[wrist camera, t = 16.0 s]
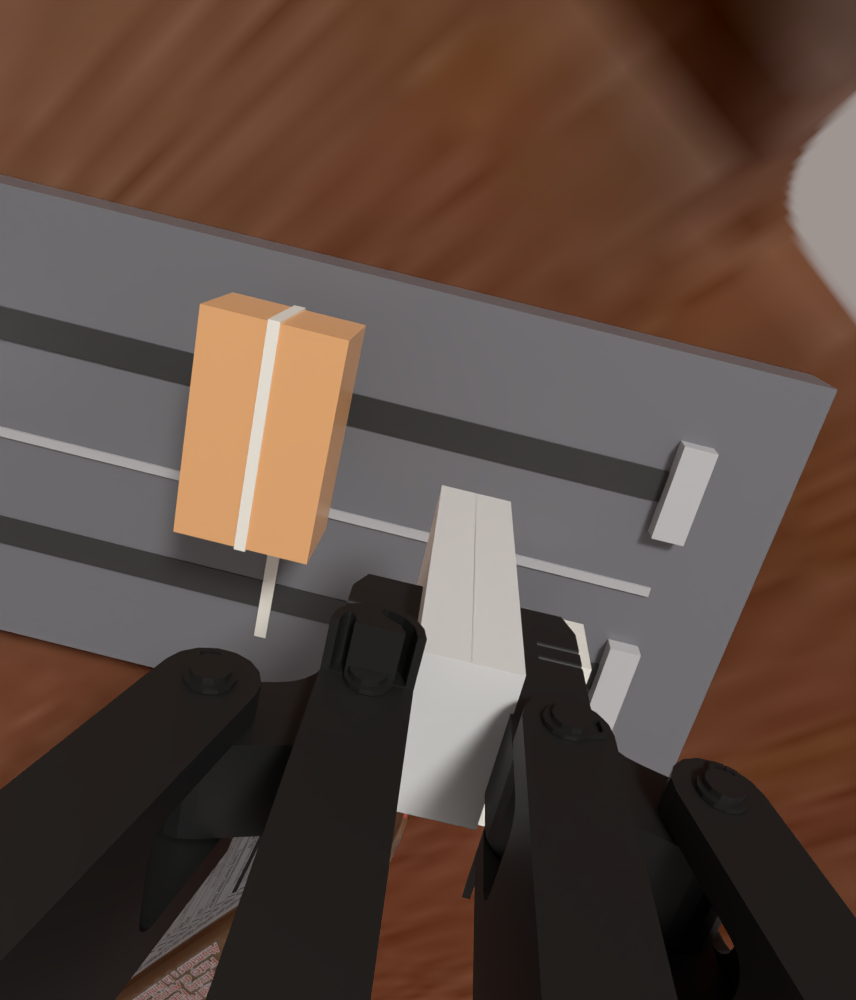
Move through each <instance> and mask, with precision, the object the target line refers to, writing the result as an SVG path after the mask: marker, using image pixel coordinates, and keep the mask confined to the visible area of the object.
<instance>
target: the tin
mask: <svg viewBox="0 0 856 1000" xmlns="http://www.w3.org/2000/svg"><path fill="white" fill-rule="evenodd" d="M408 816H409V814H405V813H401V812H397V813H396V820H395V827H394V834H393V842H392V849H391V856H390V861H391V859H392V857H393V856H394V853H395V851H396V849H397V847H398V845H399V842H400V840H401V837H402V835H403V832H404V830H405V828H406V825H407V821H408ZM261 838H262V836H253V837H234V838H233V840H232V842H231V844H230V847H229V849H228V851H227V852H226V853H225V855H224V856H223V857H222V859H221V860H220V861H219V863H218V864H217V865H216V867H215V868H214V869H213V871H212V872H211V873H210V875H209V876H208V877H207V879H206V880H205V881H204V883H203V884H202V885H201V887H200V888H199V889H198V891H197V892H196V893H195V894H194V896H193V897H192V898H191V900H190V901H189V902H188V904H187V905H186V906H185V908H184V909H183V910H182V912H181V913H180V914H179V916H178V917H177V918H176V920H175V921H174V922H173V924H172V925H171V926H170V928H169V929H168V930H167V932H166V933H165V934H164V935H163V937H162V938H161V939H160V941H159V942H158V943H157V945H156V946H155V947H154V949H153V950H152V951H151V953H150V954H149V955H148V957H147V958H146V959H145V961H144V962H143V963H142V965H141V966H140V967H139V969H138V970H137V971H136V973H135V974H134V975H133V976H132V978H131V979H130V980H129V982H128V983H127V984H126V986H125V987H124V988H123V990H122V991H121V992H120V994H119V995H118V996H117V998H116V999H115V1000H206V997H207V994H208V991H209V988H210V985H211V982H212V979H213V977H214V974H215V971H216V968H217V965H218V962H219V959H220V956H221V953H222V950H223V948H224V945H225V942H226V939H227V936H228V933H229V930H230V927H231V924H232V922H233V919H234V916H235V913H236V910H237V907H238V904H239V901H240V898H241V896H242V893H243V890H244V887H245V884H246V881H247V878H248V875H249V872H250V869H251V867H252V864H253V861H254V858H255V855H256V852H257V849H258V846H259V843H260V841H261Z"/></svg>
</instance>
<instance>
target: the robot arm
mask: <svg viewBox="0 0 856 1000" xmlns="http://www.w3.org/2000/svg"><path fill="white" fill-rule="evenodd" d="M581 668H582V663H581V658H580V655H579V649H578V644H577V639H576V635H575V633H574V632H573V631H572V630H571V628H570V627H569V626H568V625H567V624H566V622H565V621H564V620H563V619H562V617H559V616H555V615H550V614H546V613H542V612H538V611H533V610H529V609H525V608H521V607H520V601H519V590H518V578H517V567H516V555H515V544H514V532H513V521H512V509H511V501H506V500H502V499H498V498H494V497H490V496H485V495H481V494H477V493H473V492H469V491H465V490H460V489H456V488H452V487H448V486H444V485H442V487H441V491H440V495H439V499H438V503H437V507H436V511H435V515H434V519H433V523H432V527H431V531H430V535H429V539H428V543H427V546H426V550H425V554H424V558H423V562H422V566H421V570H420V574H419V578H418V582H417V585H415V584H410V583H406V582H402V581H398V580H393V579H389V578H385V577H381V576H377V575H372V574H368V575H366V576H365V577H363V578H362V579H360V580H359V581H357V582H356V583H354V584H353V586H352V589H351V592H350V595H349V598H348V601H347V604H346V606H343V607H341V608H338V609H337V610H336V611H335V613H334V614H333V615H332V616H331V619H330V623H329V628H328V633H327V638H326V642H325V647H324V652H323V657H322V661H321V666H320V670H319V671H318V672H317V673H315V674H313V675H311V676H309V677H307V678H304V679H300V680H295V681H288V682H261V678H260V672H259V670H258V669H257V668H256V667H255V666H254V664H253V663H252V662H251V661H250V660H248V659H246V658H244V657H243V656H241V655H239V654H237V653H235V652H231V651H227V650H223V649H219V648H193V649H188V650H183V651H179V652H178V653H176V654H174V655H172V656H170V657H168V658H166V659H165V660H163V661H162V662H161V663H160V664H158V665H157V666H156V667H155V668H153V669H152V670H151V671H149V672H148V673H147V674H146V675H144V676H143V677H142V678H141V679H139V680H138V681H137V682H136V683H134V684H133V685H132V686H131V687H129V688H128V689H127V690H126V691H124V692H123V693H122V694H120V695H119V696H118V697H117V698H115V699H114V700H113V701H112V702H110V703H109V704H108V705H107V706H105V707H104V708H103V709H102V710H100V711H99V712H98V713H97V714H95V715H94V716H93V717H91V718H90V719H89V720H88V721H86V722H85V723H84V724H83V725H81V726H80V727H79V728H78V729H76V730H75V731H74V732H73V733H71V734H70V735H69V736H68V737H66V738H65V739H64V740H62V741H61V742H60V743H59V744H57V745H56V746H55V747H54V748H52V749H51V750H50V751H49V752H47V753H46V754H45V755H44V756H42V757H41V758H40V759H39V760H37V761H36V762H35V763H33V764H32V765H31V766H30V767H28V768H27V769H26V770H25V771H23V772H22V773H21V774H20V775H18V776H17V777H16V778H15V779H13V780H12V781H11V782H10V783H8V784H7V785H6V786H4V787H3V788H2V789H1V790H0V1000H115V999H116V998H117V996H118V995H119V994H120V992H121V991H122V990H123V988H124V987H125V986H126V984H127V983H128V982H129V980H130V979H131V978H132V976H133V975H134V974H135V973H136V971H137V970H138V969H139V967H140V966H141V965H142V963H143V962H144V961H145V959H146V958H147V957H148V955H149V954H150V953H151V951H152V950H153V949H154V947H155V946H156V945H157V943H158V942H159V941H160V939H161V938H162V937H163V935H164V934H165V933H166V932H167V930H168V929H169V928H170V926H171V925H172V924H173V922H174V921H175V920H176V918H177V917H178V916H179V914H180V913H181V912H182V910H183V909H184V908H185V906H186V905H187V904H188V902H189V901H190V900H191V898H192V897H193V896H194V894H195V893H196V892H197V891H198V889H199V888H200V887H201V885H202V884H203V883H204V881H205V880H206V879H207V877H208V876H209V875H210V873H211V872H212V871H213V869H214V868H215V867H216V865H217V864H218V863H219V861H220V860H221V859H222V857H223V856H224V855H225V853H226V852H227V851H228V849H229V847H230V844H231V842H232V840H233V838H234V837H253V836H262V838H261V841H260V843H259V846H258V849H257V852H256V855H255V858H254V861H253V864H252V867H251V869H250V872H249V875H248V878H247V881H246V884H245V887H244V890H243V893H242V896H241V898H240V901H239V904H238V907H237V910H236V913H235V916H234V919H233V922H232V924H231V927H230V930H229V933H228V936H227V939H226V942H225V945H224V948H223V950H222V953H221V956H220V959H219V962H218V965H217V968H216V971H215V974H214V977H213V979H212V982H211V985H210V988H209V991H208V994H207V997H206V1000H370V999H371V992H372V985H373V978H374V970H375V963H376V956H377V949H378V942H379V935H380V927H381V920H382V913H383V906H384V899H385V892H386V884H387V877H388V870H389V863H390V856H391V849H392V842H393V834H394V827H395V820H396V813H397V812H401V813H405V814H410V815H414V816H418V817H423V818H427V819H431V820H436V821H440V822H444V823H449V824H453V825H457V826H462V827H466V828H470V829H475V830H476V829H477V826H478V822H479V819H480V816H481V813H482V810H483V807H484V804H485V828H484V831H483V834H482V837H481V840H480V843H479V846H478V849H477V852H476V855H475V858H474V861H473V864H472V867H471V870H470V873H469V876H468V879H467V882H466V886H465V889H464V893H463V896H462V897H464V898H468V899H470V897H471V894H472V891H473V888H474V886H475V905H474V962H473V1000H856V918H855V916H854V915H853V914H852V912H851V911H850V909H849V908H848V907H847V905H846V904H845V903H844V901H843V900H842V899H841V897H840V896H839V895H838V893H837V892H836V891H835V889H834V888H833V887H832V885H831V884H830V883H829V881H828V880H827V879H826V877H825V876H824V875H823V873H822V872H821V871H820V869H819V868H818V866H817V865H816V864H815V862H814V861H813V860H812V858H811V857H810V856H809V854H808V853H807V852H806V850H805V849H804V848H803V846H802V845H801V844H800V842H799V841H798V840H797V838H796V837H795V836H794V834H793V833H792V832H791V830H790V829H789V828H788V826H787V825H786V824H785V822H784V821H783V819H782V818H781V817H780V815H779V814H778V813H777V811H776V810H775V809H774V807H773V806H772V805H771V803H770V802H769V801H768V799H767V798H766V797H765V795H764V794H763V793H762V792H761V791H760V790H759V789H758V788H757V787H756V786H755V785H754V784H753V783H752V782H751V781H749V780H748V779H746V778H745V777H744V776H742V775H741V774H739V773H738V772H737V771H735V770H734V769H732V768H730V767H728V766H724V765H723V764H720V763H717V762H714V761H709V760H705V759H700V758H692V759H683V760H681V761H680V762H678V763H677V764H675V765H674V766H673V768H672V770H671V773H670V775H669V777H667V776H665V775H663V774H660V773H658V772H656V771H654V770H651V769H649V768H647V767H645V766H643V765H640V764H638V763H637V762H635V761H633V760H631V759H629V758H627V757H625V756H624V755H623V754H621V753H620V752H618V747H617V743H616V739H615V736H614V734H613V732H612V730H611V728H610V726H609V724H608V723H607V722H606V721H605V720H604V719H603V718H602V717H601V716H600V715H599V714H598V713H596V712H595V711H593V710H591V706H590V701H589V696H588V692H587V687H586V682H585V677H584V673H583V669H581ZM721 923H722V924H723V926H724V927H725V929H726V931H727V933H728V935H729V936H730V938H731V940H732V942H733V945H734V948H733V949H732V950H731V951H730V949H729V948H728V947H727V945H726V944H725V942H724V941H723V939H722V937H721V935H720V933H719V932H718V929H719V927H720V925H721Z"/></svg>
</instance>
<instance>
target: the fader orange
mask: <svg viewBox="0 0 856 1000" xmlns="http://www.w3.org/2000/svg"><path fill="white" fill-rule="evenodd" d="M365 328H366V325H363V324H359V323H355V322H351V321H347V320H343V319H339V318H335V317H331V316H327V315H323V314H319V313H315V312H311V311H307V310H306V308H304V307H300V306H296V305H294V306H292V307H291V306H287V305H283V304H278V303H274V302H270V301H266V300H262V299H258V298H254V297H250V296H246V295H242V294H238V293H234V292H232V293H229V294H226V295H224V296H221V297H218V298H215V299H212V300H209V301H207V302H204V303H201V304H200V308H199V316H198V325H197V333H196V342H195V350H194V359H193V367H192V376H191V384H190V393H189V401H188V410H187V419H186V427H185V436H184V444H183V453H182V461H181V470H180V478H179V487H178V495H177V504H176V512H175V521H174V530H173V532H177V533H181V534H185V535H189V536H193V537H197V538H201V539H205V540H210V541H214V542H218V543H222V544H226V545H230V546H234V549H235V550H239V551H243V552H245V551H246V550H250V551H254V552H258V553H262V554H266V555H270V556H274V557H278V558H282V559H286V560H290V561H294V562H298V563H302V564H306V565H307V563H308V561H309V559H310V557H311V556H312V554H313V552H314V550H315V548H316V546H317V545H318V543H319V541H320V539H321V537H322V535H323V533H324V532H325V530H326V526H327V521H328V516H329V511H330V506H331V501H332V496H333V491H334V486H335V481H336V476H337V470H338V465H339V460H340V455H341V450H342V445H343V440H344V435H345V430H346V425H347V420H348V415H349V410H350V404H351V399H352V394H353V389H354V384H355V379H356V374H357V369H358V364H359V359H360V354H361V349H362V343H363V338H364V333H365Z"/></svg>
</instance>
